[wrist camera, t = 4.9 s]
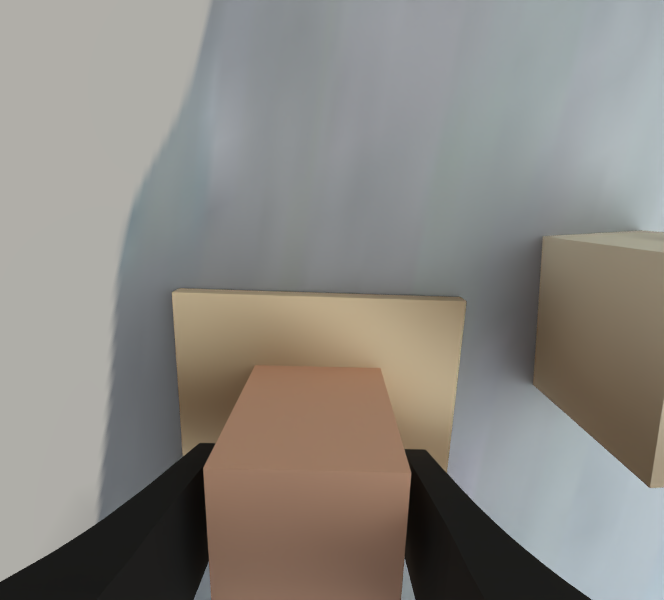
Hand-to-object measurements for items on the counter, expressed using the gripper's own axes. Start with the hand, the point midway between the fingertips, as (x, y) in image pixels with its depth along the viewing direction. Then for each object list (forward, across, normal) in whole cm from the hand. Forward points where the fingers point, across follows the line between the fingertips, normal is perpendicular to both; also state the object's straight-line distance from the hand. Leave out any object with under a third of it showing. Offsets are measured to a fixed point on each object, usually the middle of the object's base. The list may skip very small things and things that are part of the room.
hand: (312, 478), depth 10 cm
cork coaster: (+3, 0, 0) cm, 3 cm away
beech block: (+1, -7, -4) cm, 8 cm away
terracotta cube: (+2, 0, 0) cm, 2 cm away
